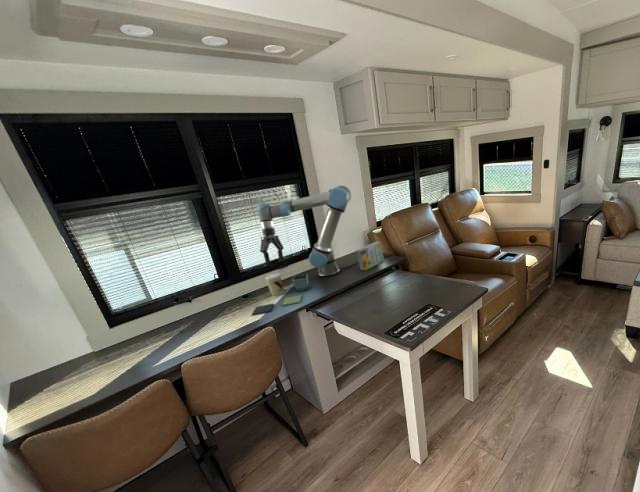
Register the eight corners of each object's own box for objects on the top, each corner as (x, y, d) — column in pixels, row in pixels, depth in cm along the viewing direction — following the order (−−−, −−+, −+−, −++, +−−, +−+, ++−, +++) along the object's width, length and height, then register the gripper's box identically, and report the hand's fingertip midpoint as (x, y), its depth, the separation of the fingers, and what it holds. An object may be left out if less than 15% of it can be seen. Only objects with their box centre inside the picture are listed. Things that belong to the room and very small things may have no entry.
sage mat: (301, 296, 194) (301, 295, 194) (299, 302, 185) (299, 301, 185) (285, 299, 193) (284, 298, 193) (282, 306, 184) (282, 304, 184)
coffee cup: (280, 295, 200) (274, 278, 195) (267, 296, 202) (261, 279, 198) (287, 289, 208) (282, 272, 204) (275, 290, 211) (270, 273, 206)
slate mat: (273, 304, 188) (273, 303, 188) (270, 311, 179) (269, 310, 178) (256, 308, 187) (256, 306, 186) (252, 315, 178) (251, 314, 177)
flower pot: (311, 285, 209) (307, 273, 205) (309, 290, 201) (306, 277, 197) (297, 288, 208) (294, 275, 205) (295, 293, 200) (292, 280, 197)
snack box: (379, 260, 240) (375, 241, 234) (384, 261, 236) (381, 241, 231) (359, 270, 225) (355, 250, 219) (365, 271, 222) (361, 250, 216)
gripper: (275, 228, 213) (282, 259, 217) (249, 230, 190) (256, 264, 193) (285, 227, 211) (291, 258, 215) (259, 228, 188) (266, 263, 191)
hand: (274, 261), depth 204 cm, fingers open, 13 cm apart
